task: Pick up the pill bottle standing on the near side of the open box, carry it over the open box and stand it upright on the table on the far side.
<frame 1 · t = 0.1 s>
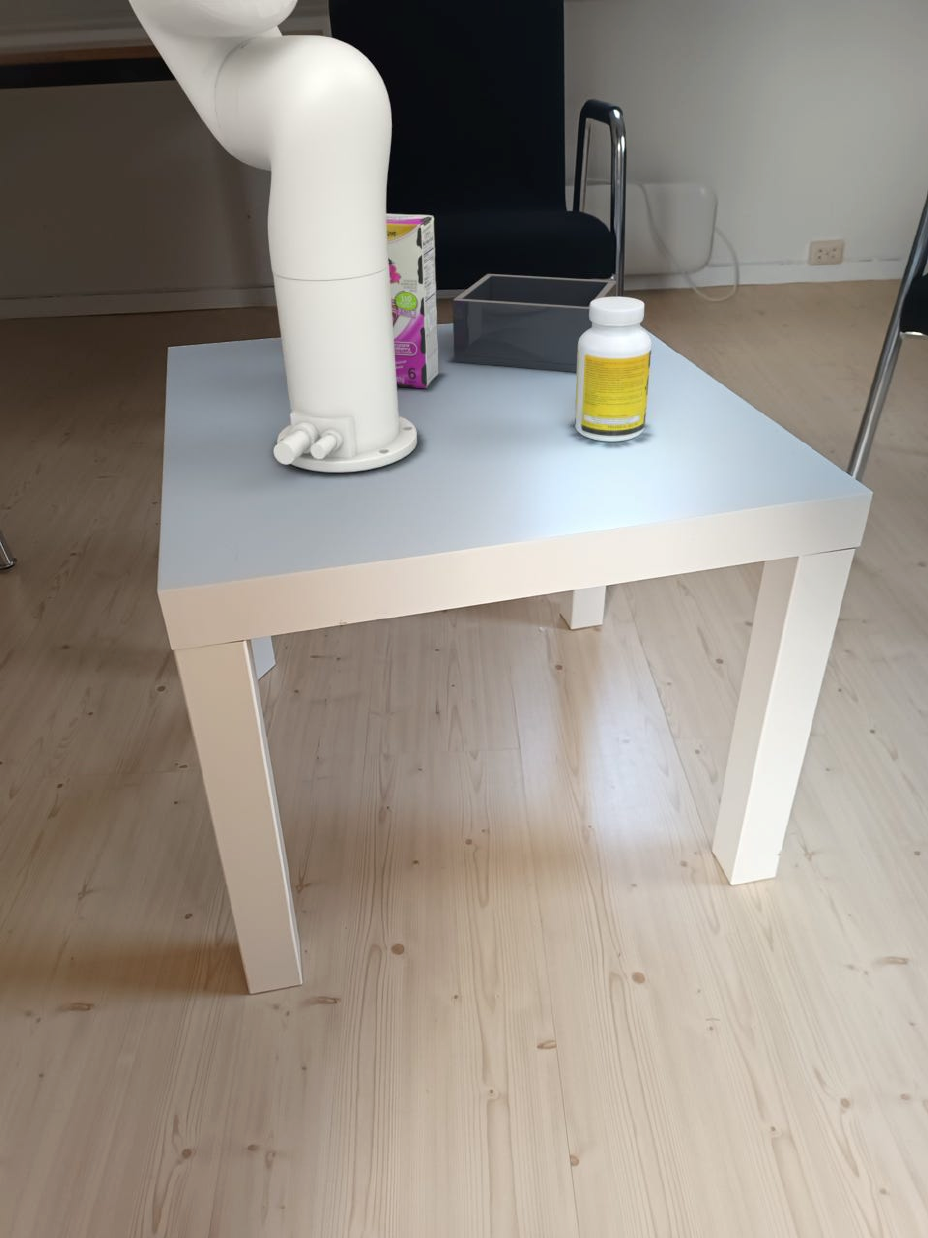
candy bar box: (385, 381, 99), on the table
open box: (535, 350, 107), on the table
pill bottle: (608, 432, 86), on the table
ink cartridge box: (378, 345, 111), on the table
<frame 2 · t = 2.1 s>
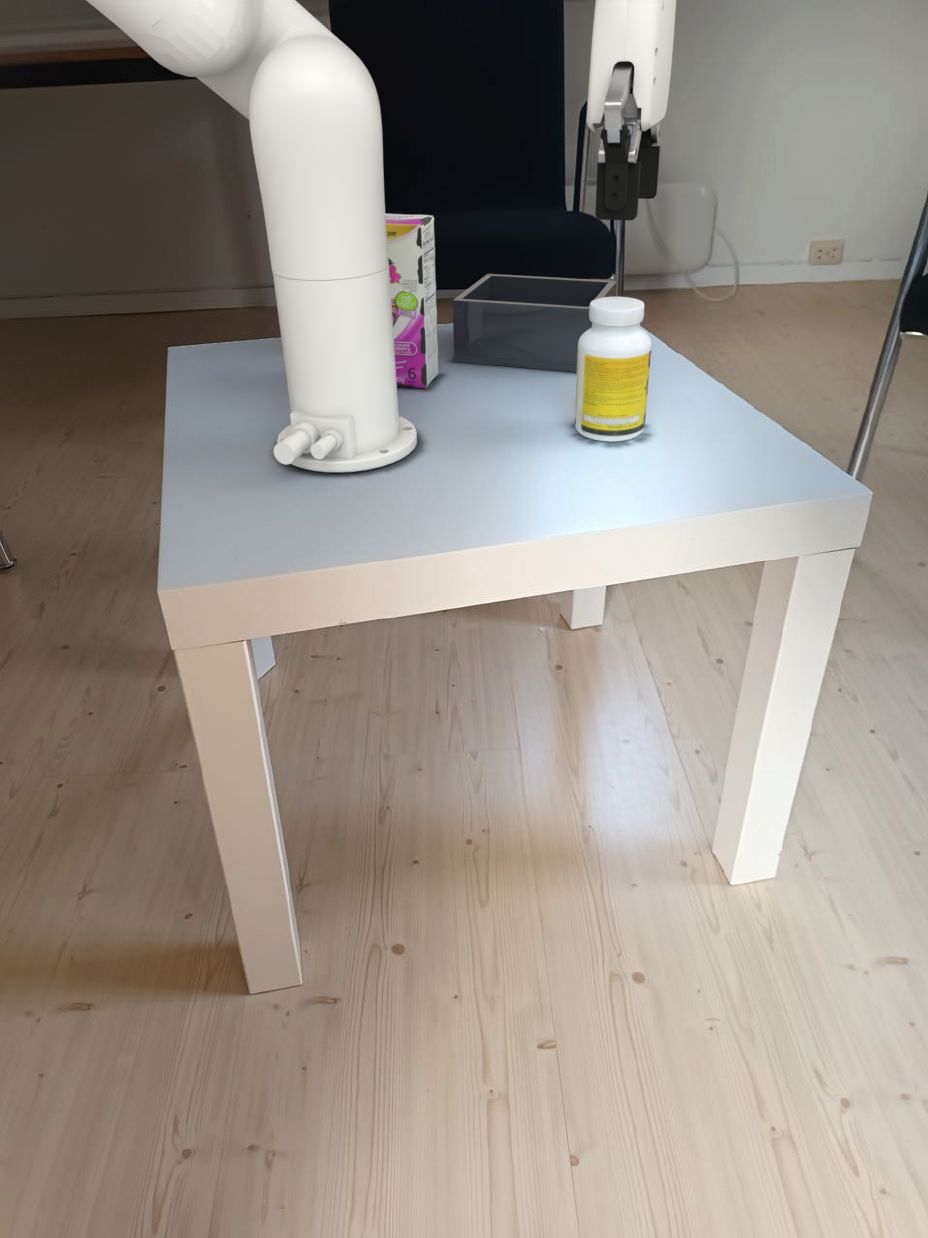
hand: (627, 207, 76), 19 cm above the table, tool pointing down, fingers open, 9 cm apart
nothing on the table moved.
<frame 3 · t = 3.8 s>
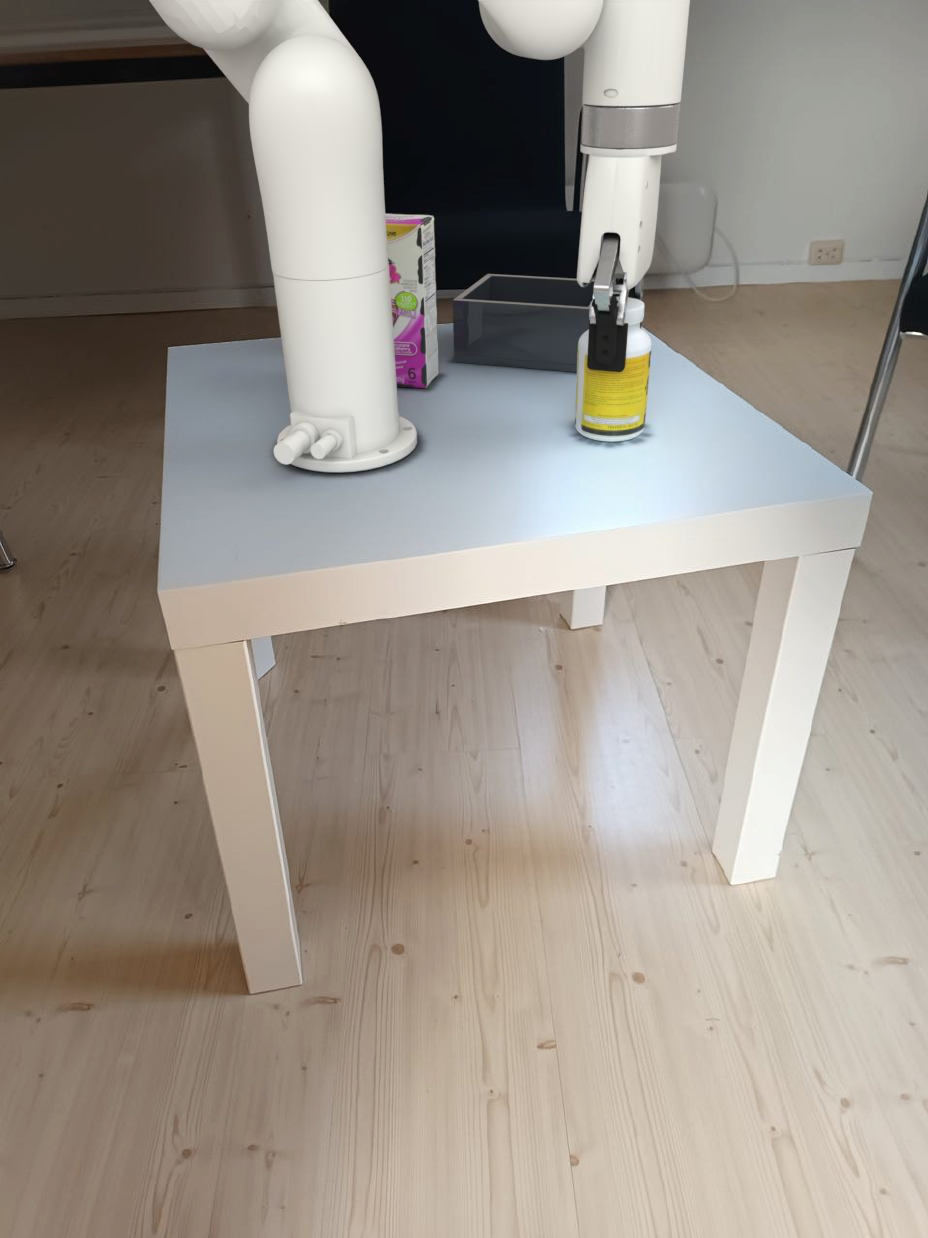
hand: (614, 355, 82), 7 cm above the table, tool pointing down, fingers closed on pill bottle, 6 cm apart
pill bottle: (608, 432, 86), on the table, touching gripper
everything else where it was.
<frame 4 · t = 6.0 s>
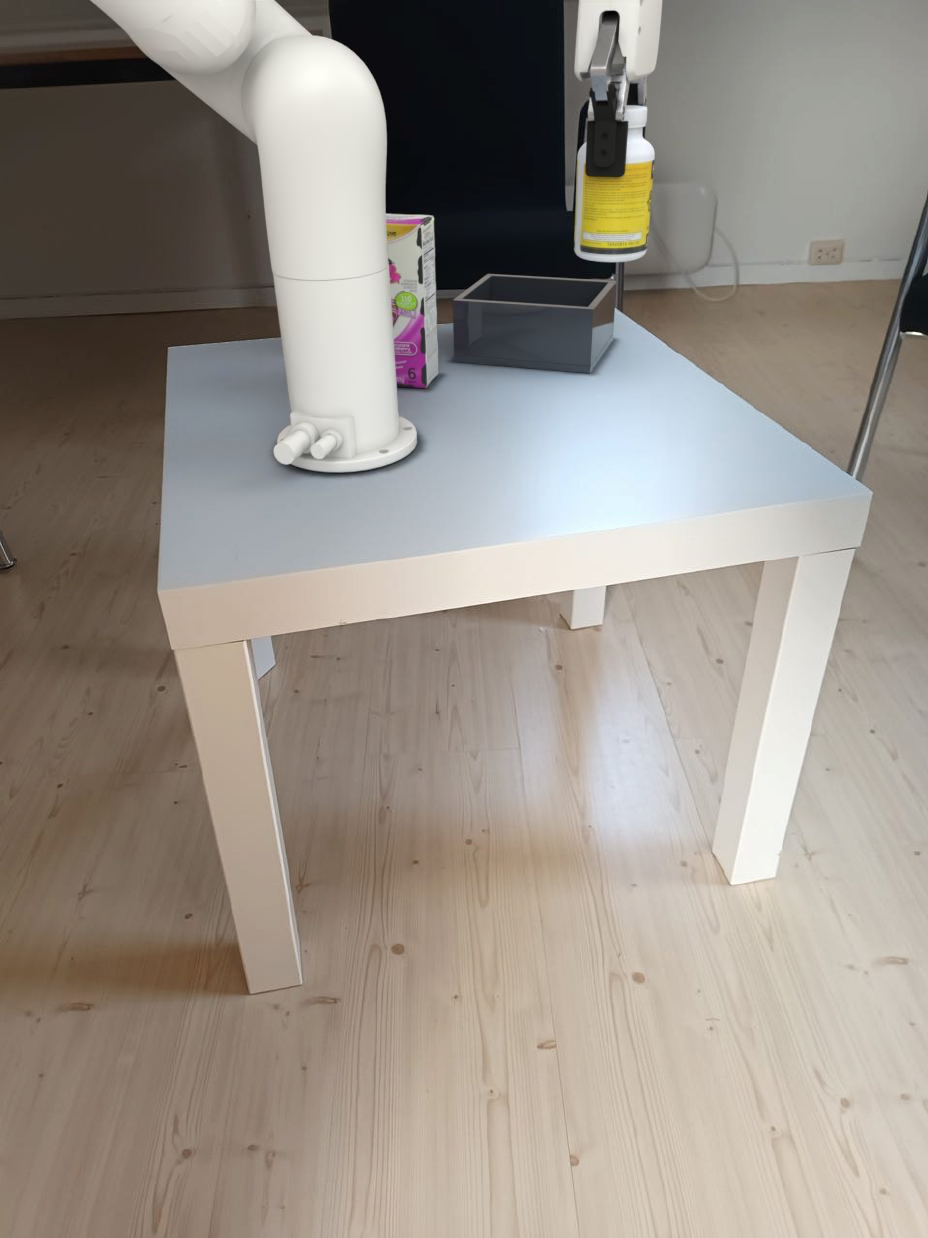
hand: (614, 167, 78), 22 cm above the table, tool pointing down, fingers closed on pill bottle, 6 cm apart
pill bottle: (609, 258, 82), point 14 cm above the table, touching gripper
everything else where it was.
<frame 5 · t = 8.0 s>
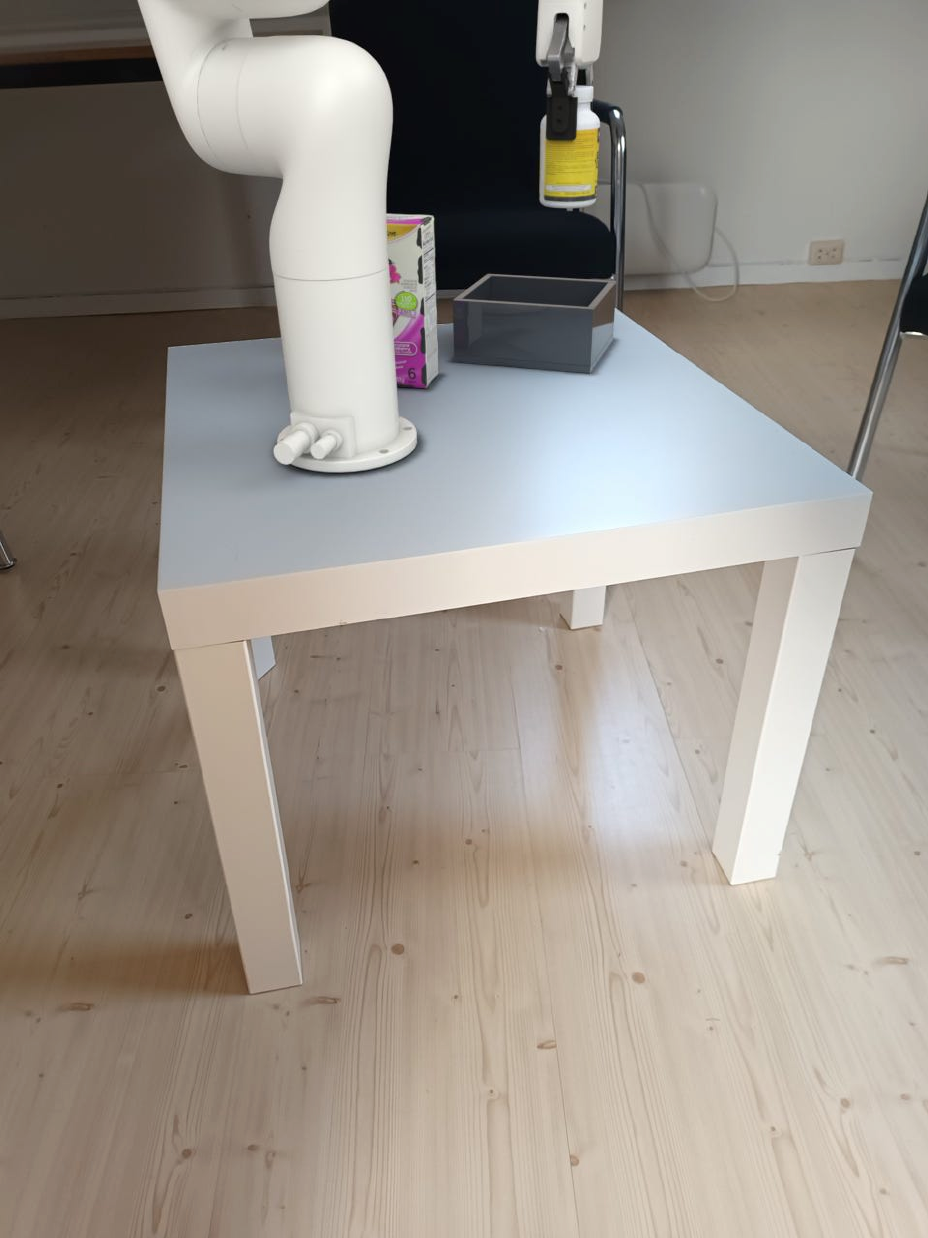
hand: (569, 134, 101), 22 cm above the table, tool pointing down, fingers closed on pill bottle, 6 cm apart
pill bottle: (567, 206, 105), point 14 cm above the table, touching gripper
everything else where it was.
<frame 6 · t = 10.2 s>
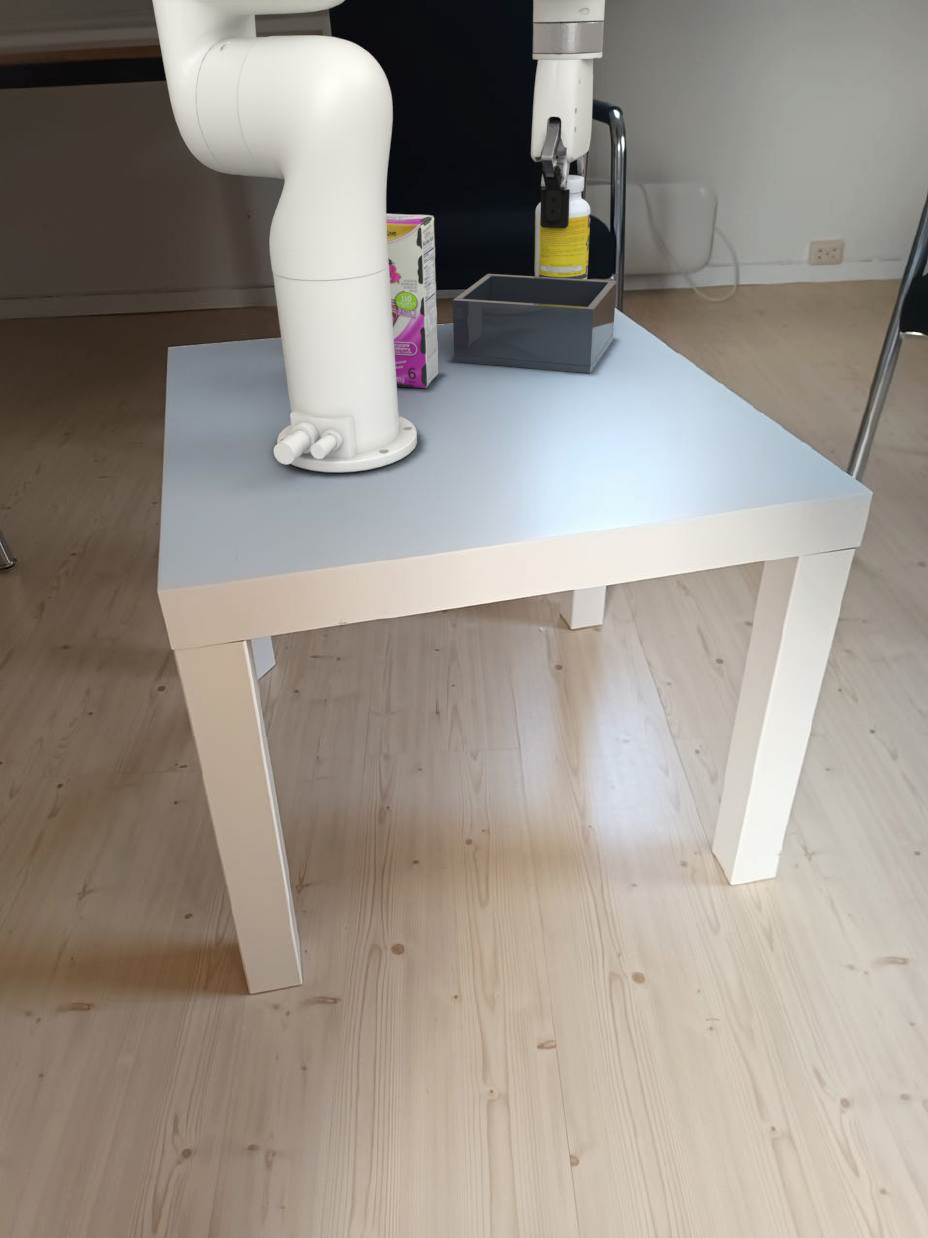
hand: (561, 219, 109), 12 cm above the table, tool pointing down, fingers closed on pill bottle, 6 cm apart
pill bottle: (560, 283, 113), point 5 cm above the table, touching gripper
everything else where it was.
when the fingers open (7 cm above the table, at t = 12.0 s): pill bottle stays where it is, on the table.
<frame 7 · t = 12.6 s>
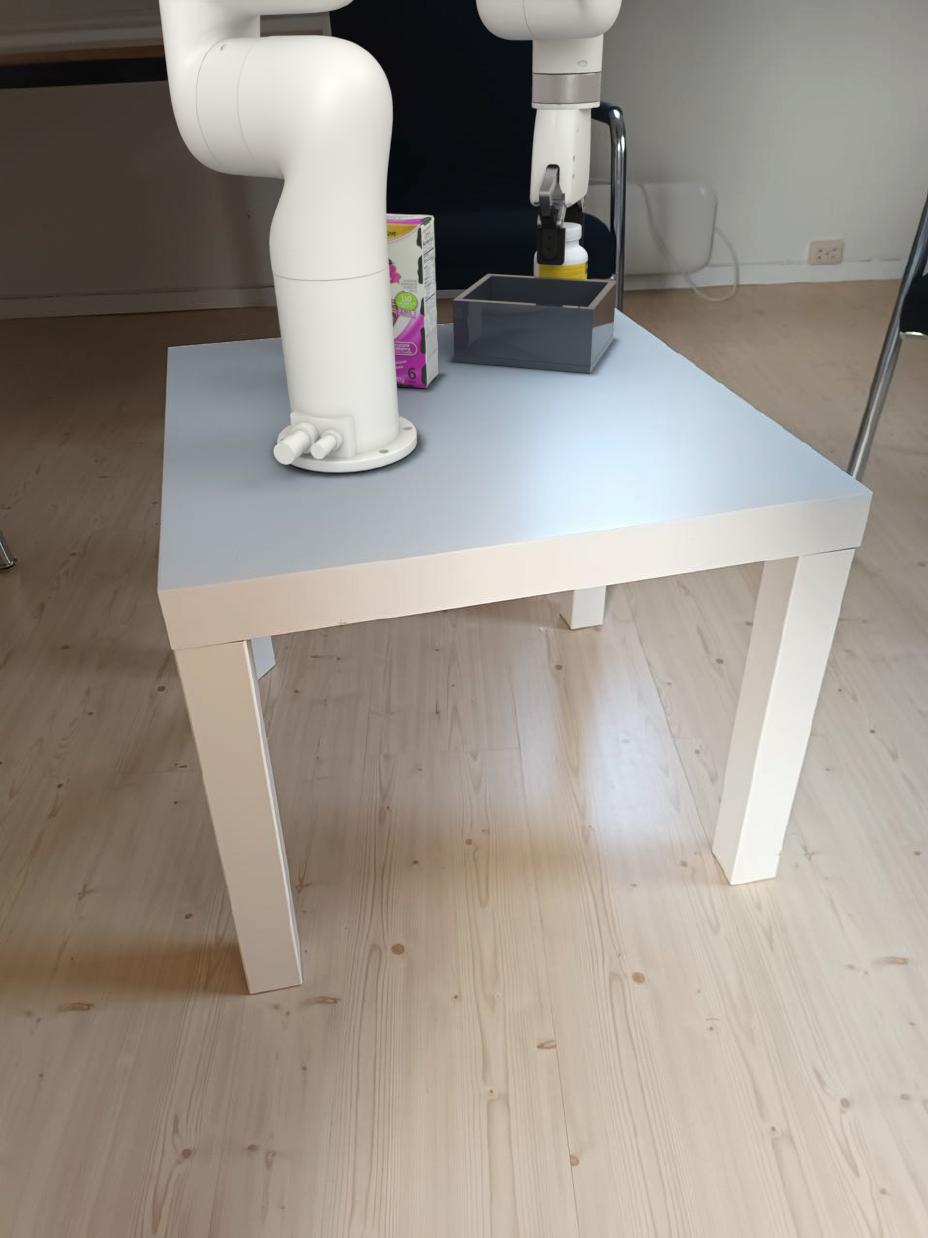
hand: (560, 255, 111), 8 cm above the table, tool pointing down, fingers open, 9 cm apart
pill bottle: (558, 326, 115), on the table
everything else where it was.
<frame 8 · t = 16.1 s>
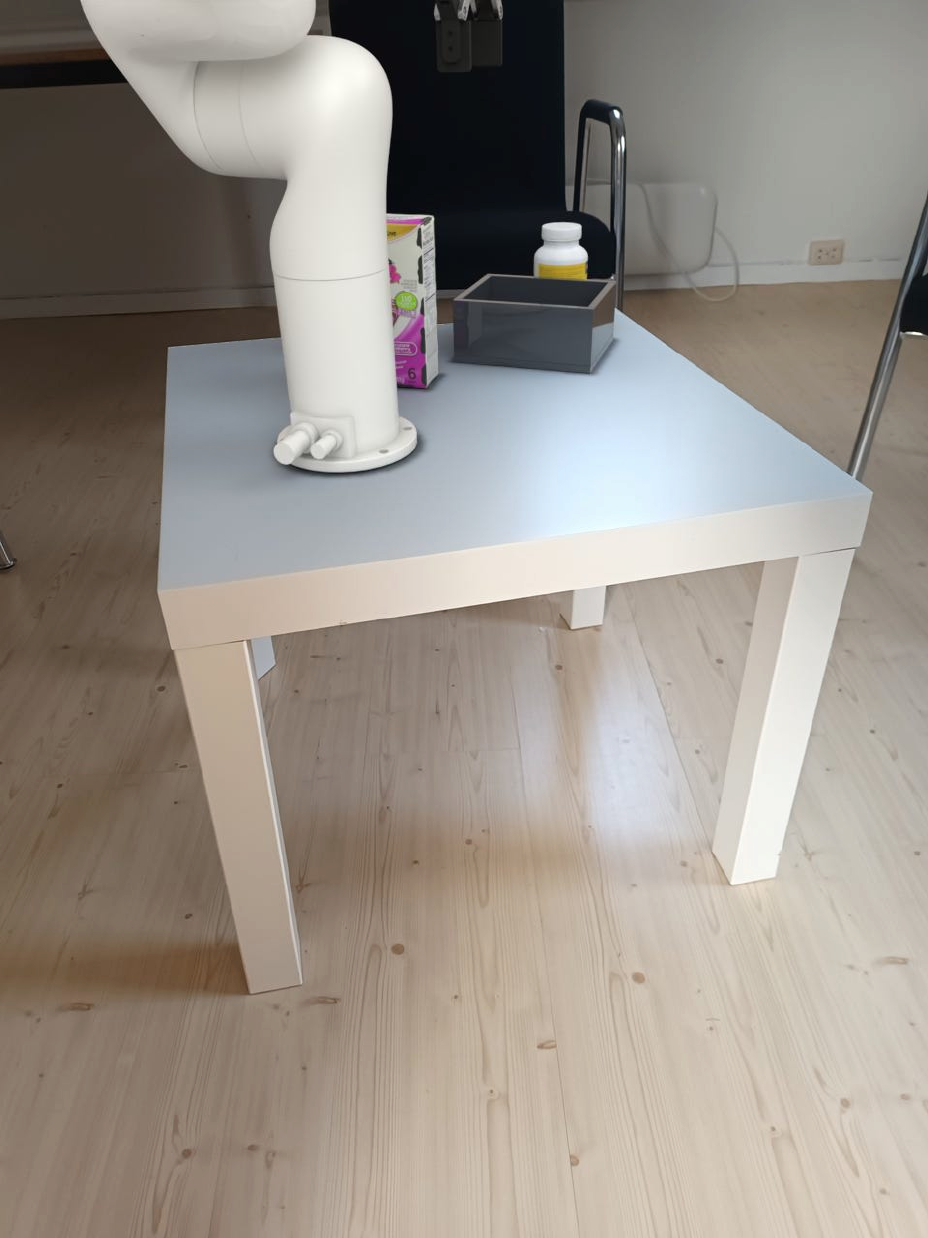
hand: (471, 68, 90), 28 cm above the table, tool pointing down, fingers open, 9 cm apart
nothing on the table moved.
at the end: pill bottle 0.1 cm from the target spot on the table beside the open box, on the table; pill bottle tilted 0°; the gripper is holding nothing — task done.
